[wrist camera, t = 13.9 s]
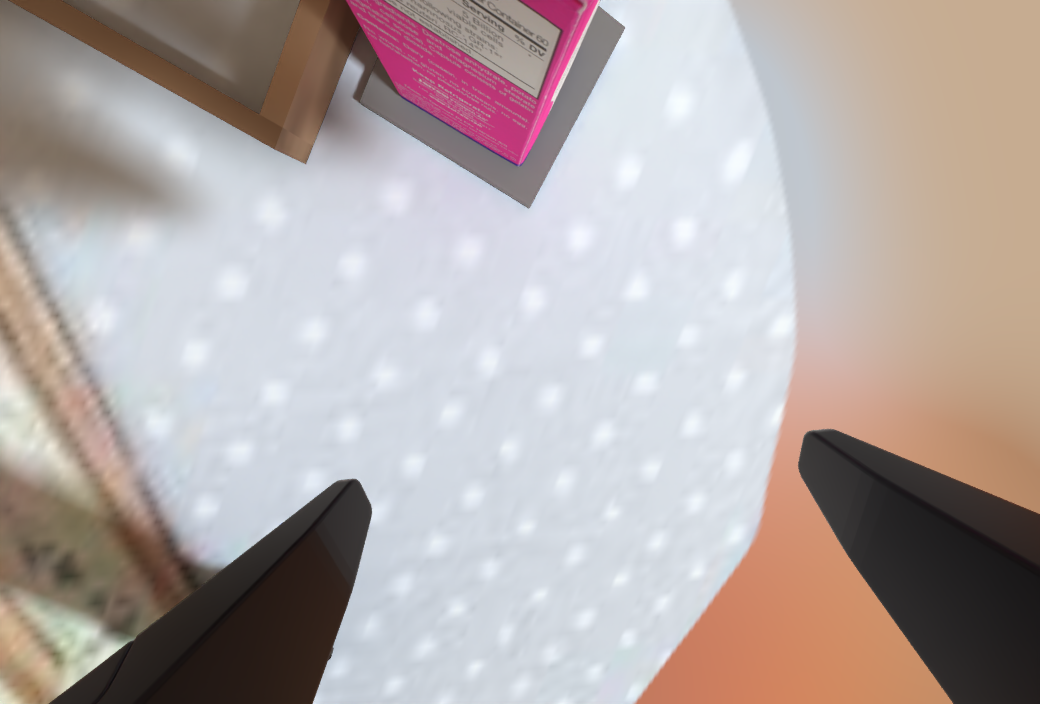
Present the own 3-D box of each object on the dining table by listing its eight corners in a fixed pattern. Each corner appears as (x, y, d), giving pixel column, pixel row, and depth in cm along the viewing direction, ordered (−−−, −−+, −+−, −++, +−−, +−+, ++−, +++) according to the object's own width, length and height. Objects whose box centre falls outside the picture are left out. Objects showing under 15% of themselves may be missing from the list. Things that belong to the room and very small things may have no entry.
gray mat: (528, 208, 17) (529, 207, 17) (362, 105, 15) (359, 101, 15) (621, 32, 15) (625, 27, 15) (449, -106, 14) (448, -116, 13)
